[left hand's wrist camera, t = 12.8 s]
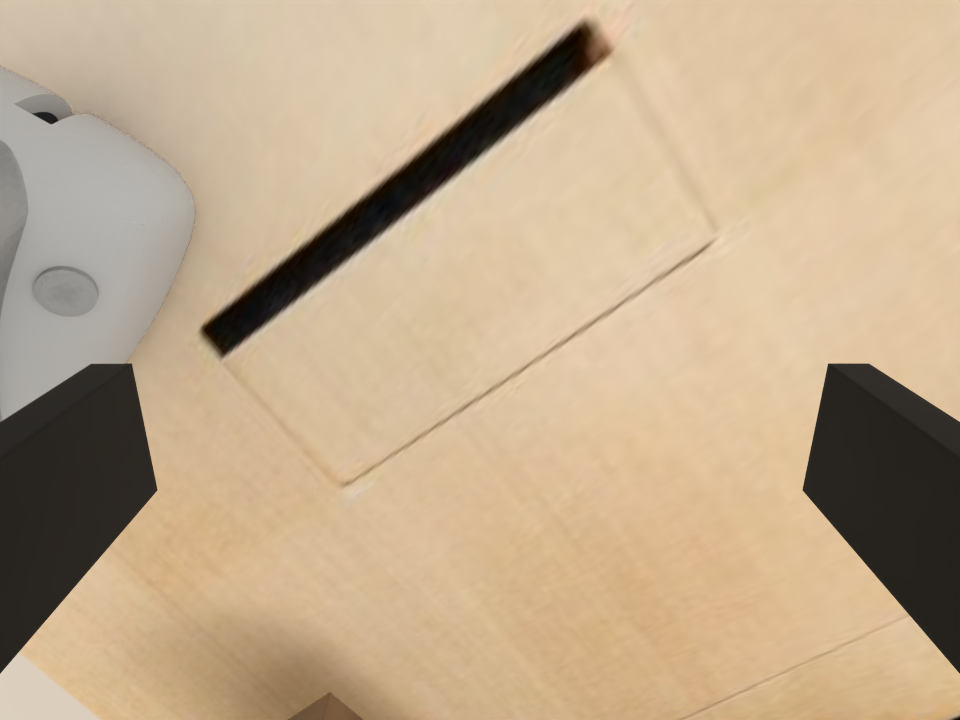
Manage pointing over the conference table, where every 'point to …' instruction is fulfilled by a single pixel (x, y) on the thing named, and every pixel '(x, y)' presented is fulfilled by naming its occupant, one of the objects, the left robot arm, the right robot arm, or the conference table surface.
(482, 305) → the conference table surface
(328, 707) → the box
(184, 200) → the projector
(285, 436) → the conference table surface
